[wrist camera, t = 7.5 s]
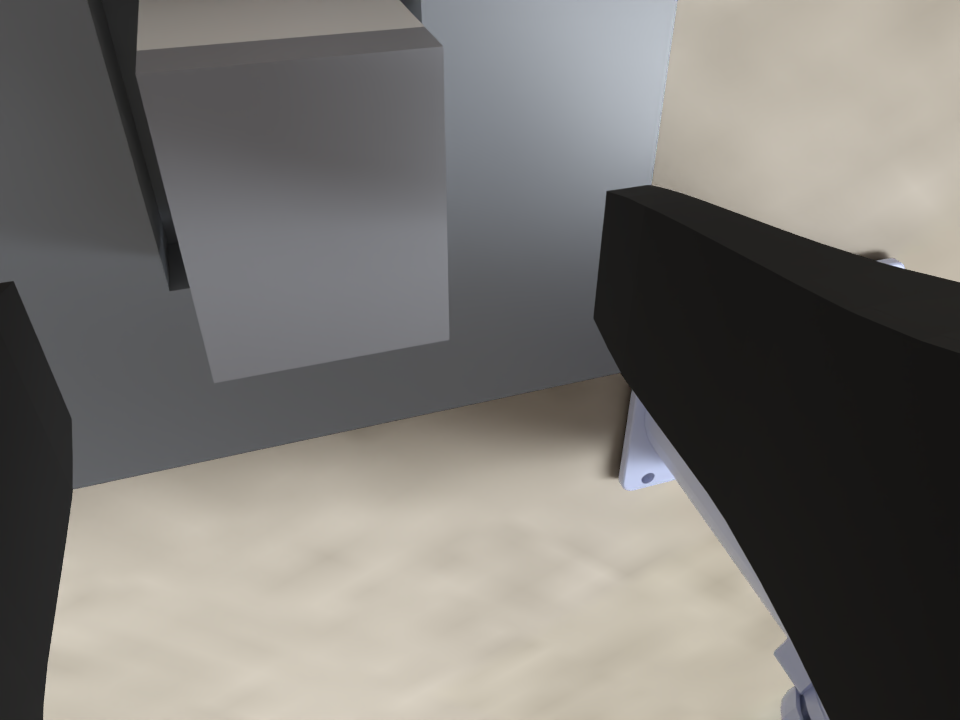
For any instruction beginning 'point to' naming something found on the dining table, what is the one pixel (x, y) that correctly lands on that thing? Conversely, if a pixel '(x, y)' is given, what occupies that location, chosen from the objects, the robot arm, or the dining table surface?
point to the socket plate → (470, 228)
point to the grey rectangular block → (301, 174)
